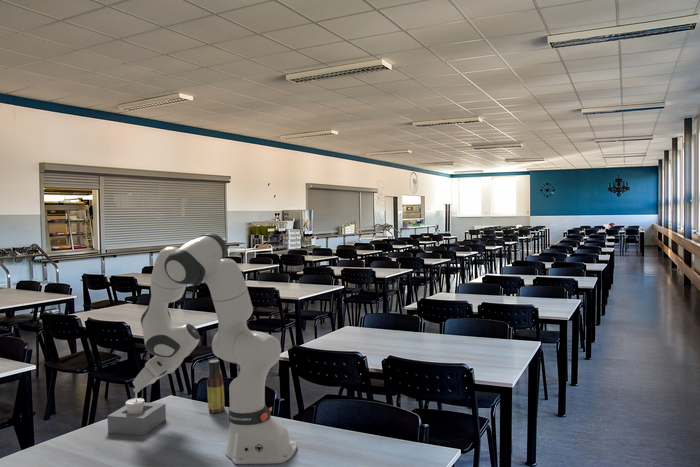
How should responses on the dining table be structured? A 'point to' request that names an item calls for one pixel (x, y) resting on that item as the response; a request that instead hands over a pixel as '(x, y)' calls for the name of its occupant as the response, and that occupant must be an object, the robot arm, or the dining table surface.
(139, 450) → the dining table surface
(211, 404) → the sauce bottle
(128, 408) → the smoothie
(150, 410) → the box
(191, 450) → the dining table surface
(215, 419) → the dining table surface
